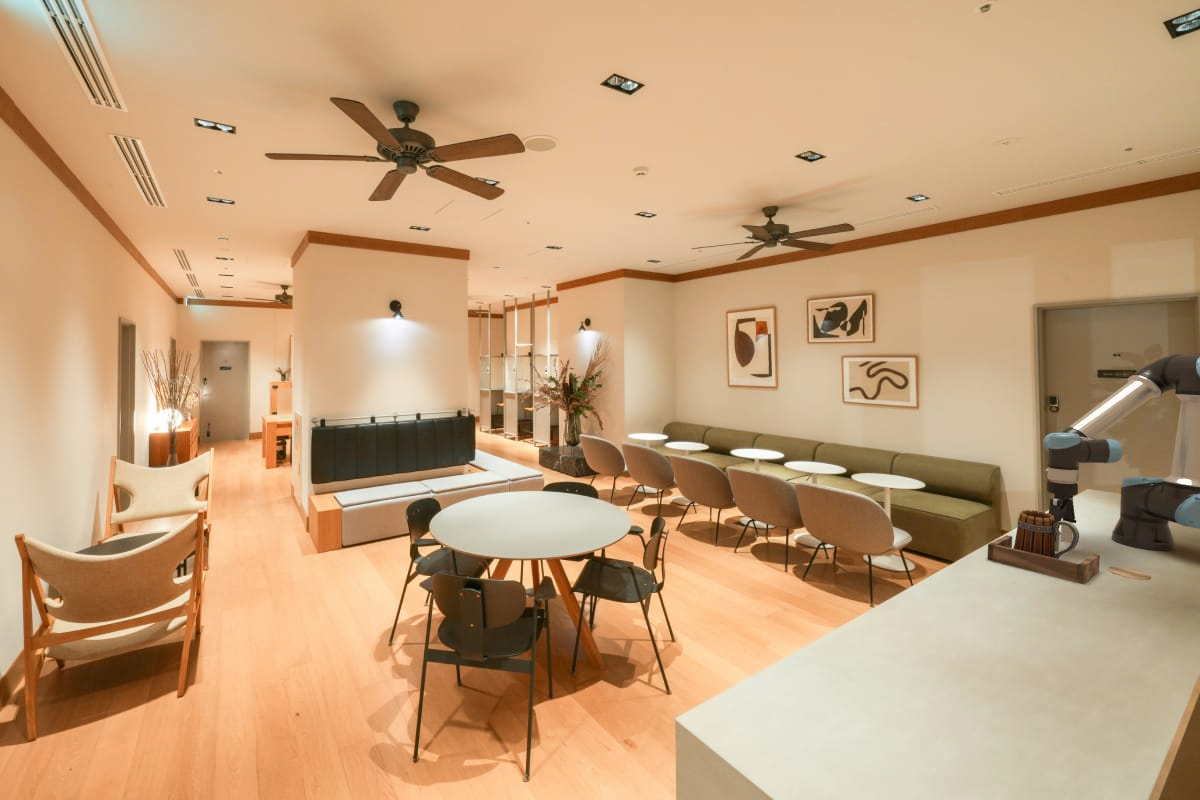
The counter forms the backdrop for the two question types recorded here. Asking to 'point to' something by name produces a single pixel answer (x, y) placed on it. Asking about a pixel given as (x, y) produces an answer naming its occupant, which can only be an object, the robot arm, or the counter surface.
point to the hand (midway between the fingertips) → (1059, 546)
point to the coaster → (1129, 573)
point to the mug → (1041, 533)
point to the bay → (1042, 562)
